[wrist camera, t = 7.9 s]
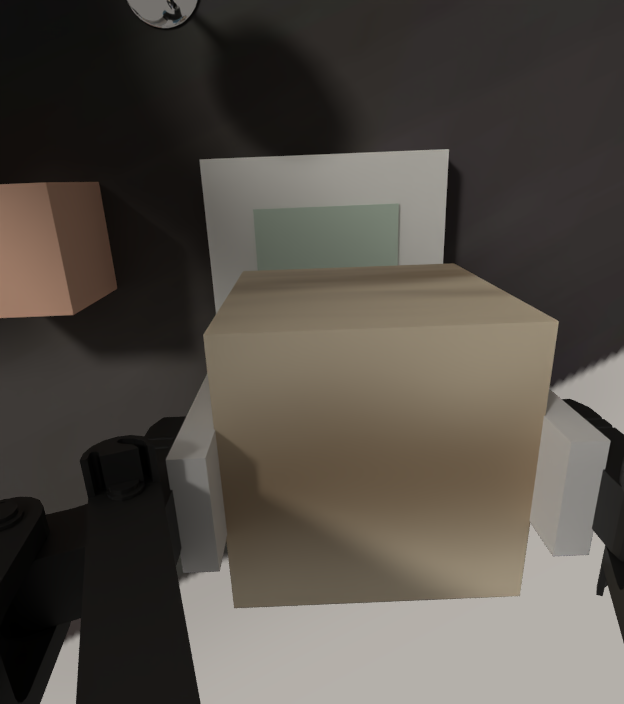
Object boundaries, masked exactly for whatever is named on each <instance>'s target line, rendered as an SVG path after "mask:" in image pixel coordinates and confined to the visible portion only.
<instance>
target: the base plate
mask: <svg viewBox="0 0 624 704" xmlns="http://www.w3.org/2000/svg"><path fill="white" fill-rule="evenodd" d="M448 157H449V149H444V150H419V151H395V152H370V153H346V154H321V155H297V156H272V157H248V158H223V159H199V160H200V170H201V179H202V188H203V197H204V207H205V216H206V225H207V234H208V243H209V253H210V262H211V271H212V280H213V290H214V299H215V308H216V314H217V312H218V311H219V309H220V307H221V306H222V304H223V303H224V301H225V299H226V298H227V296H228V295H229V293H230V291H231V290H232V288H233V287H234V285H235V283H236V282H237V280H238V279H239V277H240V275H241V274H242V272H243V271H260V270H287V269H314V268H342V267H369V266H396V265H423V264H443V255H444V235H445V216H446V196H447V177H448Z"/></svg>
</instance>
